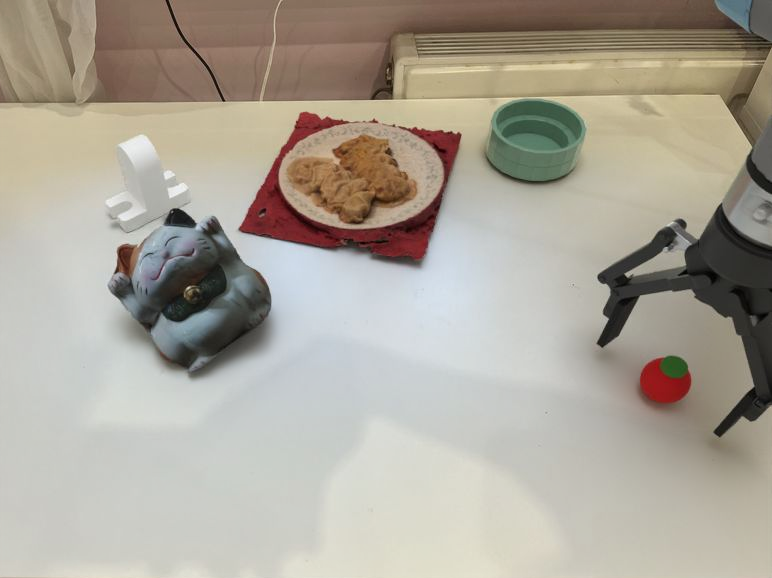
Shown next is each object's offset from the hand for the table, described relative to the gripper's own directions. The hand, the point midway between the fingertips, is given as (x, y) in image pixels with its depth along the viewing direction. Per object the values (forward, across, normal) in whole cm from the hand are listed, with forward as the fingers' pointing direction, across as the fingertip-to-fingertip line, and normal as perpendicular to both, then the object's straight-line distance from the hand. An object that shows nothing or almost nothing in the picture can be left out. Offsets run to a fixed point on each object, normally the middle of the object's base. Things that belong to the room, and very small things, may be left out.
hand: (663, 381), depth 69 cm
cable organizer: (+3, -59, -27) cm, 65 cm away
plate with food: (+2, -45, -3) cm, 45 cm away
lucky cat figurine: (+3, -37, -32) cm, 49 cm away
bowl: (+2, -35, +20) cm, 40 cm away
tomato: (+2, 0, 0) cm, 2 cm away
